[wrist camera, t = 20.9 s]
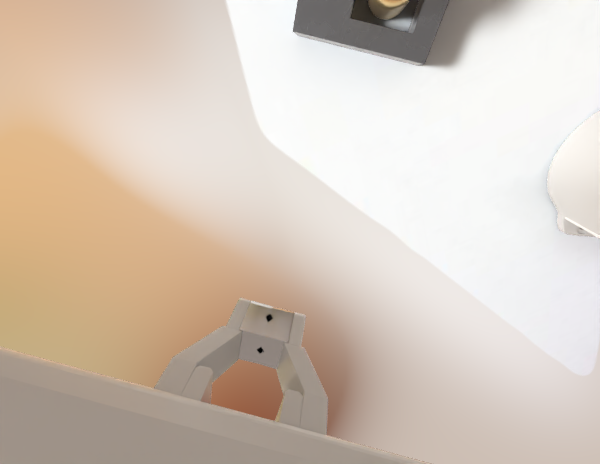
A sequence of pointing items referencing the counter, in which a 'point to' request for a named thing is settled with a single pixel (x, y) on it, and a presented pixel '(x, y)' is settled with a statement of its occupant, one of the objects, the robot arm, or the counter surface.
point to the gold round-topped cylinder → (387, 7)
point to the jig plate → (370, 29)
